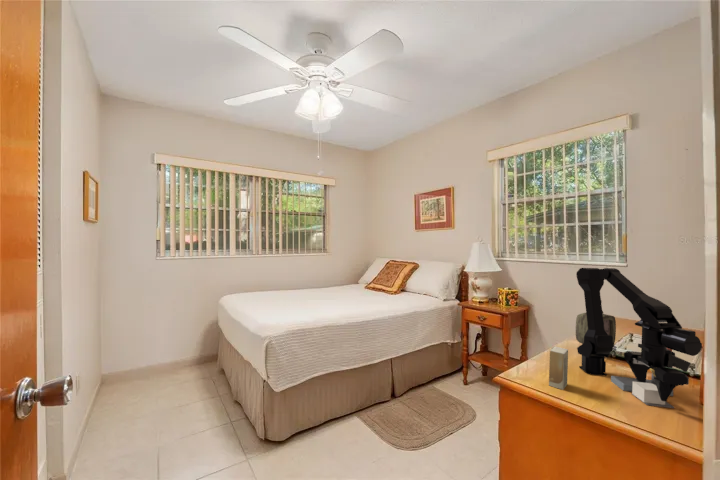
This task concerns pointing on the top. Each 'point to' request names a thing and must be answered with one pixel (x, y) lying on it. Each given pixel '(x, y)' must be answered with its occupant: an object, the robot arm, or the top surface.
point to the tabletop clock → (583, 326)
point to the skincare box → (558, 367)
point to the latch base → (627, 383)
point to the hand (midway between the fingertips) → (652, 393)
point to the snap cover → (646, 392)
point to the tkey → (653, 376)
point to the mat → (658, 404)
